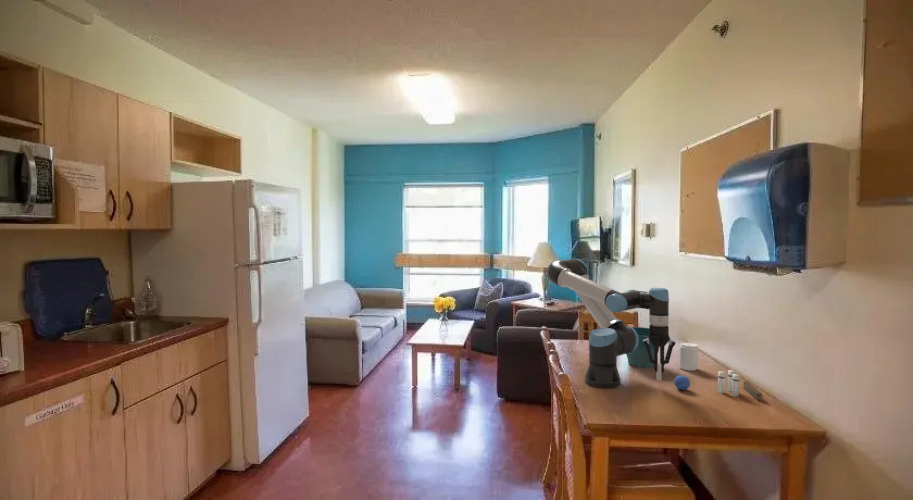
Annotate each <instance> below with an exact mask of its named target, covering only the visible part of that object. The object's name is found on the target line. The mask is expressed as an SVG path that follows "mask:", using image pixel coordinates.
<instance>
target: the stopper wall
mask: <svg viewBox="0 0 913 500" xmlns="http://www.w3.org/2000/svg"><path fill="white" fill-rule="evenodd" d="M742 388H743V390H745V391H746V392H747V393H748V394H749V395H750V396H751V397H752V398H753V399H754V400H756V401H757V402H763V393H762V392H761V391H759V390H758V389H757V388H756V387H755V386H754V385H752V384H751V383H750V382H749V381H747V380H746V381H744V380H743V387H742Z"/></svg>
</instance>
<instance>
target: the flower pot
mask: <svg viewBox="0 0 913 500" xmlns="http://www.w3.org/2000/svg"><path fill="white" fill-rule="evenodd" d="M630 327H631V328H633V329H634V330H635V331H636V332H637V334H638V337H639V344H638V347H637V348H636V349H635V350H634V351H632V352H630V353H628V354H625V355H626V357H627V362H628V363H627V364H628V365H630V366H632V367H635V368H642V369H648V368H654V364H653V363H651V362H650V361H649V358H648V354H647V350H646V346H645V344H644V342H643V340H645V339H647V338H648V336H649V327H643V326H641V327H640V326H630ZM648 345H649V347H650V351H651V355H652V359H653V360H654V347H653V344H652V343H651V342H650V341H649V344H648ZM658 353H660V346H658Z"/></svg>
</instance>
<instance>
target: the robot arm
mask: <svg viewBox="0 0 913 500" xmlns="http://www.w3.org/2000/svg"><path fill="white" fill-rule="evenodd" d="M588 270H589V268H588V265H587V264H586V263H585V262H584V261H583V260H582V259H578V258H576V259H575V258H570V259H559V260H555V261H552V262H551V263H550V264H549V266H548V267H547V269H546V275H547V278H548V280H549V281H550V282H552V283H553V284H554V285H555V286H558V287H561V288H568V289H569V290H572V291H574V292H575V294H576V295H577V296H578V298H579V299H580V301H581V302H582V303H583V304H584V305H583V306H585V307H586V309H587V310H588V312H589V314H590V315H591V316H592V317H593V319H594V321H595V322H596V324H597V325H598V328H595V329H592V330H591V331H590V332H589V337H588V348H589V349H588V366H587V369H586V372H585V373H584V374H585V375H584V382H585V383H586V384H587V385H589V386H591V387H594V388H599V389H615V388H618V387H620V386H621V385H622V384H621V382H622V381H621V379H622V378H621V376H620V374H619V370H618V367H617V359H618V358H617V357H619V356H623V355H626V354H628V353H630V352H632V351H634V350H635V349H636V348H637V347H638V344H639V337H638V334H637V332H636V331H635V330H634V329H633V328H631V327H632V326H629V325H628V326H627V325H626V324H625V322H624V321H623V320H622V319H619V318H617V317H616V316H615V314H614V313H621V312H624V311H629V310H634V309H644V310H648V311H649V313H648V314H649V315H648V316H649V317H648V318H649V320H648V321H649V322H648V323H649V325H648V326H649V327H648V328H649V336H648V338H647V339H645V340H643V342H644V344H645V346H646V350H647V354H648V358H649V361H650V362H651V363H653V364H654V366H653V371H654V372H655V373H656V374H655V376H656V377H655V378H656V380H657V381H662V373H664V372H665V365H666V364H669V363H670V359H671V356H672V352H673V348H674V346H675V345H676V341H674V340H672V339H671V337H670V333H669V331H670V328H669V322H670V321H669V319H670V317H669V311H670V309H669V307H670V306H669V303H670V302H669V301H670V295H669V290H668V289H667V288H663V287H651V288H649V291H642V290H640V291H639V290H636V289H627V290H625V291H624V292H619V291H618V290H615V289H613V288H611V287H608V286H605V285H603V284H601V283H599V282H596V281H594V280H591V279H590V275H589V271H588ZM649 341H650V342H651V343H652V344H653V347H654V360H653V359H652V355H651V351H650V347H649V345H648V344H649ZM667 344H668V346H667V350H666V354H665V348H666V347H665V346H666V345H667ZM658 346H660V347H659V352H658ZM658 354H659V355H658ZM658 356H659V357H658ZM658 358H659V359H658ZM658 360H659V362H658Z"/></svg>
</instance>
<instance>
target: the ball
mask: <svg viewBox="0 0 913 500" xmlns="http://www.w3.org/2000/svg"><path fill="white" fill-rule="evenodd" d="M673 380H674V381H673V382H674V386H675V387H676V388H677V389H678V390H679V391H685V390H687V389H689V388H690V386H691V381H690V379H689V378H688V377H687V376H685V375H682V374H681V375H676V377H675V378H674V379H673Z"/></svg>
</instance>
